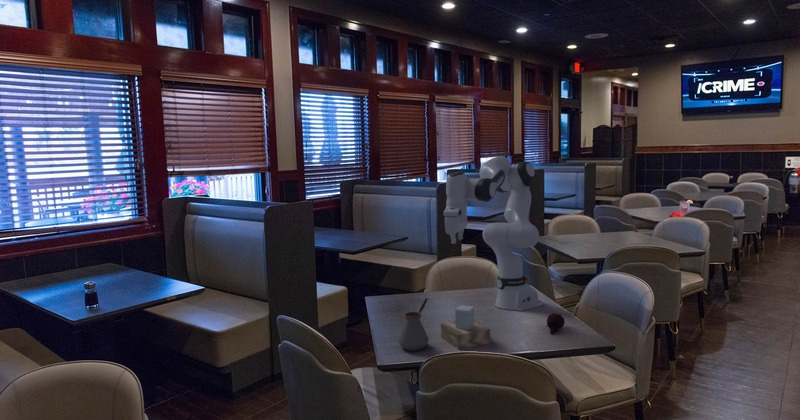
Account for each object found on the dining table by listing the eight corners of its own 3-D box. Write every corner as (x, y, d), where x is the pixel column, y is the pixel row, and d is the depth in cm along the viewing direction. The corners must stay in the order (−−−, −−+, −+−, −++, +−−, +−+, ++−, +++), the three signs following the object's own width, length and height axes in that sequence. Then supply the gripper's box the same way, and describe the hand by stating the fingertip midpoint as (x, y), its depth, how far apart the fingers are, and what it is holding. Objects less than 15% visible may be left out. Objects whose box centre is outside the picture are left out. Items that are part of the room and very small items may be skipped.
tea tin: (461, 323, 215) (460, 305, 214) (474, 325, 212) (474, 306, 211) (455, 327, 210) (455, 309, 209) (469, 329, 207) (469, 310, 206)
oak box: (471, 332, 221) (471, 318, 220) (490, 344, 208) (490, 329, 207) (441, 338, 216) (440, 323, 215) (458, 350, 203) (457, 335, 202)
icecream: (550, 307, 229) (538, 321, 216) (567, 305, 224) (556, 319, 212) (554, 323, 229) (543, 337, 217) (571, 321, 225) (561, 336, 213)
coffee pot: (422, 354, 199) (421, 315, 197) (393, 350, 203) (392, 311, 202) (441, 335, 218) (440, 298, 216) (415, 331, 223) (414, 296, 221)
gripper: (456, 206, 243) (457, 237, 245) (442, 212, 224) (442, 245, 226) (470, 206, 241) (470, 237, 242) (456, 213, 222) (457, 246, 224)
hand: (457, 241), depth 234 cm, fingers open, 8 cm apart
